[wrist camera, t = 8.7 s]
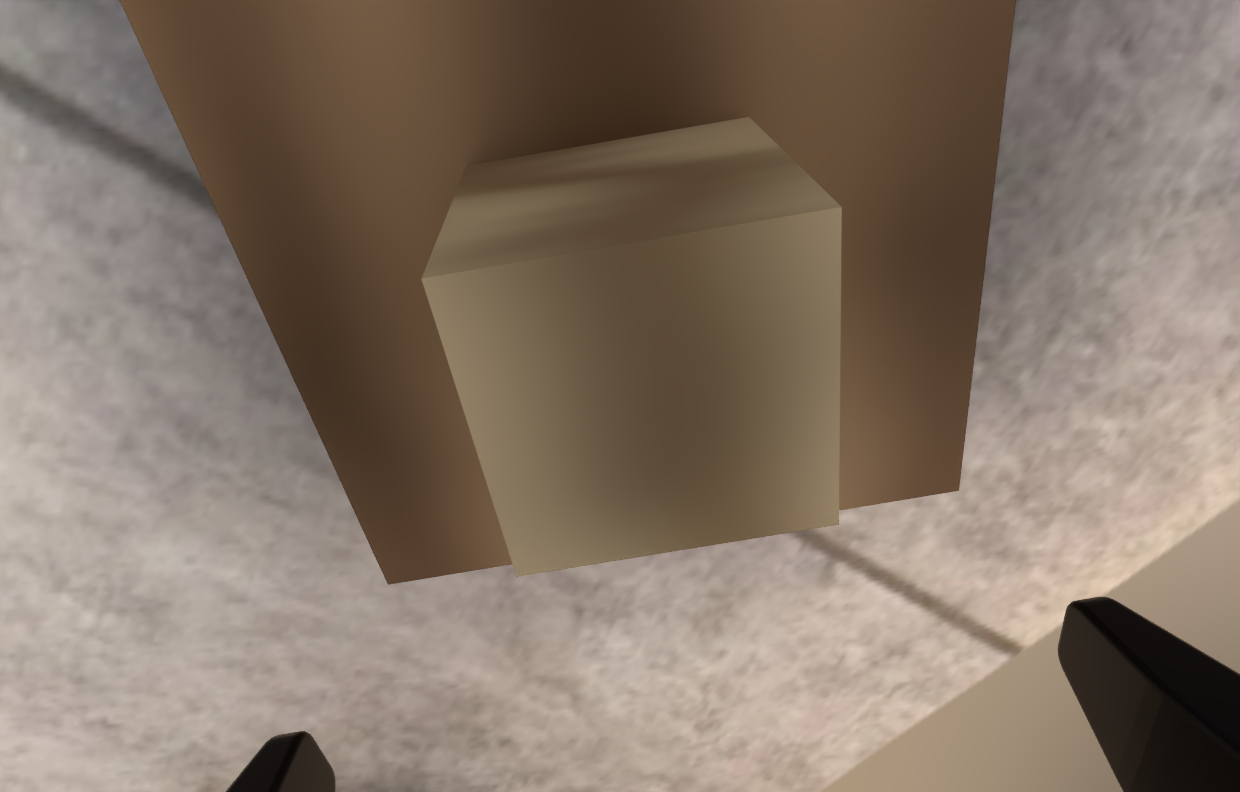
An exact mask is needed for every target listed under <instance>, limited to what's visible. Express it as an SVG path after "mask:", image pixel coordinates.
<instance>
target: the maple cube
mask: <svg viewBox="0 0 1240 792" xmlns="http://www.w3.org/2000/svg"><path fill="white" fill-rule="evenodd" d="M841 232H842V207H841V206H840V205H839V204H838V203H837V202H836V201H835V200H834V199H833V198H832V197H831V196H830V195H829V194H828V193H827V192H826V191H825V190H824V189H823V188H822V187H821V186H820V185H819V184H818V183H817V182H816V181H814V180H813V179H812V178H811V177H810V176H809V175H808V174H807V173H806V172H805V171H804V170H803V169H802V168H801V167H800V166H799V165H798V164H797V163H796V162H795V161H794V160H793V159H792V158H791V157H790V156H789V155H788V154H787V153H786V152H785V151H784V150H783V149H782V148H781V147H780V146H778V145H777V144H776V143H775V142H774V141H773V140H772V139H771V138H770V137H769V136H768V135H767V134H766V133H765V132H764V131H763V130H762V129H761V128H760V127H759V126H758V125H757V124H756V123H755V122H754V121H753V120H752V119H751V118H750V117H745V118H739V119H734V120H728V121H722V122H716V123H711V124H705V125H699V126H694V127H688V128H682V129H676V130H671V131H665V132H659V133H653V134H648V135H642V136H636V137H630V138H625V139H619V140H613V141H607V142H602V143H596V144H590V145H584V146H579V147H573V148H567V149H561V150H556V151H550V152H544V153H538V154H533V155H527V156H521V157H515V158H510V159H504V160H498V161H492V162H487V163H481V164H475V165H469V166H466V168H465V170H464V173H463V176H462V178H461V181H460V183H459V186H458V188H457V191H456V193H455V196H454V198H453V201H452V203H451V206H450V208H449V211H448V213H447V216H446V218H445V221H444V223H443V226H442V228H441V231H440V233H439V236H438V238H437V241H436V243H435V246H434V248H433V251H432V253H431V256H430V258H429V261H428V263H427V266H426V269H425V271H424V274H423V276H422V282H423V285H424V288H425V292H426V295H427V298H428V301H429V304H430V307H431V310H432V314H433V317H434V320H435V323H436V326H437V329H438V332H439V335H440V339H441V342H442V345H443V348H444V351H445V354H446V357H447V361H448V364H449V367H450V370H451V373H452V376H453V379H454V382H455V386H456V389H457V392H458V395H459V398H460V401H461V404H462V408H463V411H464V414H465V417H466V420H467V423H468V426H469V429H470V433H471V436H472V439H473V442H474V445H475V448H476V451H477V454H478V458H479V461H480V464H481V467H482V470H483V473H484V476H485V480H486V483H487V486H488V489H489V492H490V495H491V498H492V501H493V505H494V508H495V511H496V514H497V517H498V520H499V523H500V527H501V530H502V533H503V536H504V539H505V542H506V545H507V548H508V552H509V555H510V558H511V561H512V564H513V567H514V570H515V574H516V577H517V576H524V575H530V574H536V573H542V572H548V571H555V570H561V569H567V568H573V567H579V566H586V565H592V564H598V563H604V562H610V561H616V560H623V559H629V558H635V557H641V556H647V555H654V554H660V553H666V552H672V551H678V550H685V549H691V548H697V547H703V546H709V545H715V544H722V543H728V542H734V541H740V540H746V539H753V538H759V537H765V536H771V535H777V534H784V533H790V532H796V531H802V530H808V529H815V528H821V527H827V526H833V525H839V456H840V344H841Z"/></svg>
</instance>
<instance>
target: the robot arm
mask: <svg viewBox="0 0 1240 792" xmlns="http://www.w3.org/2000/svg"><path fill="white" fill-rule="evenodd" d="M1058 656H1059V660H1060V663H1061V666H1062V669H1063V671H1064V672H1065V675H1066V677H1067V679H1068V681H1069V683H1070V685H1071V687H1072V689H1073V691H1074V693H1075V695H1076V697H1077V699H1078V701H1079V703H1080V705H1081V707H1082V709H1083V711H1084V713H1085V715H1086V717H1087V720H1088V721H1089V724H1090V726H1091V728H1092V729H1093V732H1094V734H1095V736H1096V738H1097V740H1098V742H1099V744H1100V746H1101V748H1102V750H1103V752H1104V754H1105V756H1106V758H1107V760H1108V762H1109V764H1110V766H1111V768H1112V770H1113V772H1114V774H1115V776H1116V778H1117V780H1118V782H1119V784H1120V786H1121V788H1122V789H1123V792H1240V674H1239V673H1237V672H1236V671H1234V670H1232V669H1231V668H1229V667H1227V666H1225V665H1224V664H1222V663H1220V662H1219V661H1217V660H1215V659H1214V658H1212V657H1210V656H1209V655H1207V654H1205V653H1204V652H1202V651H1200V650H1198V649H1197V648H1195V647H1193V646H1192V645H1190V644H1188V643H1187V642H1185V641H1183V640H1182V639H1180V638H1178V637H1176V636H1175V635H1173V634H1171V633H1169V632H1168V631H1166V630H1165V629H1163V628H1161V627H1160V626H1158V625H1156V624H1155V623H1153V622H1151V621H1149V620H1147V619H1146V618H1144V617H1142V616H1141V615H1139V614H1137V613H1136V612H1134V611H1132V610H1131V609H1129V608H1127V607H1126V606H1124V605H1122V604H1121V603H1119V602H1117V601H1115V600H1113V599H1111V598H1108V597H1095V598H1089V599H1083V600H1077V601H1073V602H1071V603H1070V604H1069V605H1068V606H1067V609H1066V613H1065V617H1064V622H1063V626H1062V631H1061V635H1060V640H1059V644H1058ZM226 792H335V776H334V772H333V769H332V767H331V765H330V764H329V762H328V761H327V759H326V757H325V756H324V754H323V753H322V751H321V750H320V748H319V746H318V745H317V743H316V742H315V740H314V738H313V737H312V736H311V735H310V734H309V733H307V732H305V731H300V732H294V733H288V734H282V735H278V736H275V737H273V738H271V739H270V740H269V741H267V742H266V743H265V744H264V745H263V747H262V748H261V749H260V750H259V752H258V753H257V754H256V755H255V756H254V758H253V759H252V760H251V761H250V763H249V764H248V765H247V766H246V767H245V769H244V770H243V771H242V772H241V774H240V775H239V776H238V777H237V778H236V780H235V781H234V782H233V783H232V785H231V786H230V787H229V788H228V790H227V791H226Z"/></svg>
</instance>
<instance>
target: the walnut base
mask: <svg viewBox="0 0 1240 792" xmlns="http://www.w3.org/2000/svg"><path fill="white" fill-rule="evenodd" d="M120 2H121V4H122V6H123V9H124V11H125V13H126V15H127V17H128V20H129V22H130V24H131V26H132V28H133V30H134V33H135V35H136V37H137V39H138V41H139V43H140V46H141V48H142V50H143V52H144V54H145V57H146V59H147V61H148V63H149V65H150V67H151V70H152V72H153V74H154V76H155V78H156V81H157V83H158V85H159V87H160V89H161V91H162V94H163V96H164V98H165V100H166V102H167V104H168V107H169V109H170V111H171V113H172V115H173V118H174V120H175V122H176V124H177V126H178V128H179V131H180V133H181V135H182V137H183V139H184V141H185V144H186V146H187V148H188V150H189V152H190V155H191V157H192V159H193V161H194V163H195V165H196V168H197V170H198V172H199V174H200V176H201V178H202V181H203V183H204V185H205V187H206V189H207V192H208V194H209V196H210V198H211V200H212V202H213V205H214V207H215V209H216V211H217V213H218V215H219V218H220V220H221V222H222V224H223V226H224V229H225V231H226V233H227V235H228V237H229V239H230V242H231V244H232V246H233V248H234V250H235V252H236V255H237V257H238V259H239V261H240V263H241V266H242V268H243V270H244V272H245V274H246V276H247V279H248V281H249V283H250V285H251V287H252V289H253V292H254V294H255V296H256V298H257V300H258V303H259V305H260V307H261V309H262V311H263V313H264V316H265V318H266V320H267V322H268V324H269V326H270V329H271V331H272V333H273V335H274V337H275V340H276V342H277V344H278V346H279V348H280V350H281V353H282V355H283V357H284V359H285V361H286V363H287V366H288V368H289V370H290V372H291V374H292V377H293V379H294V381H295V383H296V385H297V387H298V390H299V392H300V394H301V396H302V398H303V401H304V403H305V405H306V407H307V409H308V411H309V414H310V416H311V418H312V420H313V422H314V424H315V427H316V429H317V431H318V433H319V435H320V438H321V440H322V442H323V444H324V446H325V448H326V451H327V453H328V455H329V457H330V459H331V461H332V464H333V466H334V468H335V470H336V472H337V475H338V477H339V479H340V481H341V483H342V485H343V488H344V490H345V492H346V494H347V496H348V498H349V501H350V503H351V505H352V507H353V509H354V512H355V514H356V516H357V518H358V520H359V522H360V525H361V527H362V529H363V531H364V533H365V535H366V538H367V540H368V542H369V544H370V546H371V549H372V551H373V553H374V555H375V557H376V559H377V562H378V564H379V566H380V568H381V570H382V572H383V575H384V577H385V579H386V581H387V583H388V585H389V584H395V583H401V582H407V581H413V580H419V579H425V578H431V577H437V576H443V575H449V574H455V573H461V572H467V571H474V570H480V569H486V568H492V567H498V566H504V565H510V564H512V561H511V558H510V555H509V552H508V548H507V545H506V542H505V539H504V536H503V533H502V530H501V527H500V523H499V520H498V517H497V514H496V511H495V508H494V505H493V501H492V498H491V495H490V492H489V489H488V486H487V483H486V480H485V476H484V473H483V470H482V467H481V464H480V461H479V458H478V454H477V451H476V448H475V445H474V442H473V439H472V436H471V433H470V429H469V426H468V423H467V420H466V417H465V414H464V411H463V408H462V404H461V401H460V398H459V395H458V392H457V389H456V386H455V382H454V379H453V376H452V373H451V370H450V367H449V364H448V361H447V357H446V354H445V351H444V348H443V345H442V342H441V339H440V335H439V332H438V329H437V326H436V323H435V320H434V317H433V314H432V310H431V307H430V304H429V301H428V298H427V295H426V292H425V288H424V285H423V282H422V276H423V274H424V271H425V269H426V266H427V263H428V261H429V258H430V256H431V253H432V251H433V248H434V246H435V243H436V241H437V238H438V236H439V233H440V231H441V228H442V226H443V223H444V221H445V218H446V216H447V213H448V211H449V208H450V206H451V203H452V201H453V198H454V196H455V193H456V191H457V188H458V186H459V183H460V181H461V178H462V176H463V173H464V170H465V168H466V166H469V165H475V164H481V163H487V162H492V161H498V160H504V159H510V158H515V157H521V156H527V155H533V154H538V153H544V152H550V151H556V150H561V149H567V148H573V147H579V146H584V145H590V144H596V143H602V142H607V141H613V140H619V139H625V138H630V137H636V136H642V135H648V134H653V133H659V132H665V131H671V130H676V129H682V128H688V127H694V126H699V125H705V124H711V123H716V122H722V121H728V120H734V119H739V118H745V117H750V118H751V119H752V120H753V121H754V122H755V123H756V124H757V125H758V126H759V127H760V128H761V129H762V130H763V131H764V132H765V133H766V134H767V135H768V136H769V137H770V138H771V139H772V140H773V141H774V142H775V143H776V144H777V145H778V146H780V147H781V148H782V149H783V150H784V151H785V152H786V153H787V154H788V155H789V156H790V157H791V158H792V159H793V160H794V161H795V162H796V163H797V164H798V165H799V166H800V167H801V168H802V169H803V170H804V171H805V172H806V173H807V174H808V175H809V176H810V177H811V178H812V179H813V180H814V181H816V182H817V183H818V184H819V185H820V186H821V187H822V188H823V189H824V190H825V191H826V192H827V193H828V194H829V195H830V196H831V197H832V198H833V199H834V200H835V201H836V202H837V203H838V204H839V205H840V206H841V207H842V232H841V344H840V456H839V510H844V509H850V508H856V507H862V506H868V505H874V504H880V503H886V502H892V501H899V500H905V499H911V498H917V497H923V496H929V495H935V494H941V493H947V492H953V491H959V485H960V476H961V468H962V459H963V450H964V442H965V433H966V425H967V416H968V407H969V399H970V390H971V382H972V373H973V365H974V356H975V347H976V339H977V330H978V322H979V313H980V304H981V296H982V287H983V279H984V270H985V261H986V253H987V244H988V236H989V227H990V219H991V210H992V201H993V193H994V184H995V176H996V167H997V158H998V150H999V141H1000V133H1001V124H1002V115H1003V107H1004V98H1005V90H1006V81H1007V73H1008V64H1009V55H1010V47H1011V38H1012V30H1013V21H1014V12H1015V4H1016V0H120Z"/></svg>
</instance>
